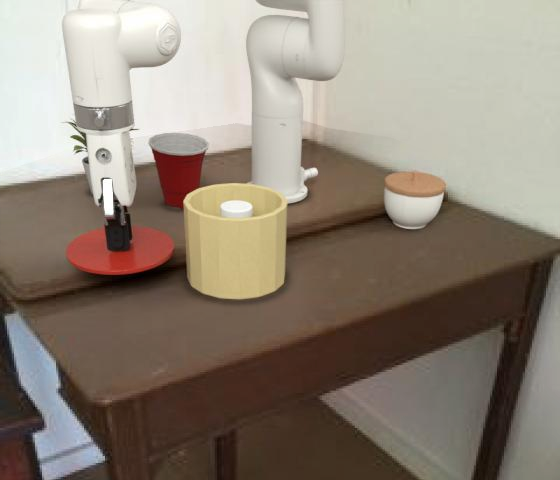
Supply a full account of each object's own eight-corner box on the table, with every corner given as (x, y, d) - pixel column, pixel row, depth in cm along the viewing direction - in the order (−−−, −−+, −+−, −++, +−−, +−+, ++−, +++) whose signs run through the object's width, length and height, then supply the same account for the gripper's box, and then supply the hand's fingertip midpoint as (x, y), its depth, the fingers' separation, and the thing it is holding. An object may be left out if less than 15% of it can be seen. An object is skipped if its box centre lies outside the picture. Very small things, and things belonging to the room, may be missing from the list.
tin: (244, 251, 115) (244, 176, 108) (304, 283, 106) (308, 204, 99) (169, 275, 107) (164, 196, 100) (227, 312, 98) (225, 228, 91)
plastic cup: (186, 220, 126) (183, 153, 119) (140, 207, 131) (135, 141, 124) (222, 202, 134) (221, 138, 127) (177, 190, 138) (174, 128, 132)
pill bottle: (251, 286, 104) (252, 215, 98) (211, 281, 105) (209, 211, 99) (261, 268, 109) (261, 200, 103) (222, 264, 110) (221, 196, 104)
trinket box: (445, 218, 130) (453, 168, 125) (430, 238, 122) (438, 186, 117) (390, 208, 134) (395, 159, 128) (372, 227, 125) (377, 175, 120)
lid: (139, 224, 112) (135, 187, 109) (195, 258, 103) (193, 218, 99) (48, 250, 104) (40, 210, 100) (100, 289, 94) (93, 247, 91)
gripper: (127, 133, 86) (141, 269, 96) (138, 99, 99) (150, 222, 109) (64, 133, 85) (86, 270, 96) (84, 99, 98) (101, 223, 109)
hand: (120, 243), depth 102 cm, fingers closed on lid, 2 cm apart
